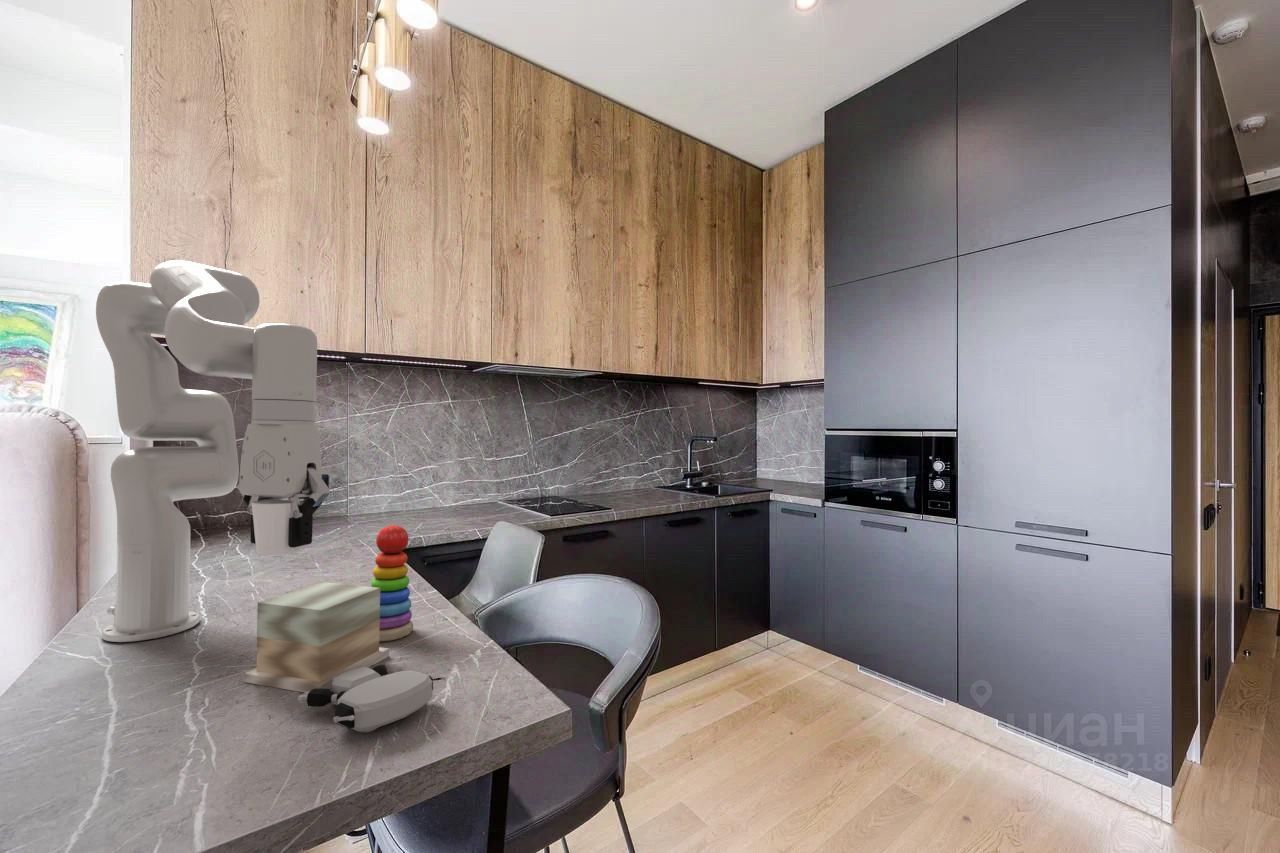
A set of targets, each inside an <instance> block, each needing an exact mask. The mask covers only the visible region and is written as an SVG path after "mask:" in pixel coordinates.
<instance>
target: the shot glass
mask: <svg viewBox="0 0 1280 853" xmlns="http://www.w3.org/2000/svg"><path fill="white" fill-rule="evenodd" d="M299 501H300V504H301V505H302V504H303V503H304V500H303V499H300V500H299ZM252 511H253V514H252V515H253V521H254V532H255V543H256V544H255V551H256V554H258V555H262V556H274V555H275V556H277V555H285V554H293V553H298V552H300V551H301V552H302V551H303V550H305V548H306V545H303V546H299V547H294V548H293V547H289V545H288V535H289V518H293V514H292V510H291V503H289V500H288V498H272V499H266V498H263V500H258V501H254V502H252Z"/></svg>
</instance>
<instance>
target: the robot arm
mask: <svg viewBox="0 0 1280 853" xmlns="http://www.w3.org/2000/svg"><path fill="white" fill-rule="evenodd" d="M149 276H150V277H149V283H143V282H133V281H115V282H111V283H107V284H106V285H104V286H103V287H102V288H101V289H100V290H99V292H98V294H97V298H96V303H95V318H96V324H97V329H98V331H99V334H100V337H101V339H102V342H103V343H104V345H105V348H106V350H107V352H108V354H109V356H110V359H111V362H112V366H113V372H114V384H115V395H116V396H115V397H116V408H117V416H118V422H119V427H120V430H121V431H122V433H123V434H124V435H125V436H126V437H127V438H129V439H133V440H140V441H153V442H154V441H156V442H157V441H158V442H159V441H160V442H161V441H165V442H169V441H170V442H171V441H173V442H174V441H177V442H178V441H182V442H183V441H188V442H189V441H193V442H195V443H196V444H197V446H179V445H178V446H146V447H138V448H137V447H136V448H132V449H129V450H127V451H124V452H122V453H120V454H119V455H118V456H116V458H115V459H114V461H112V464H111V467H110V482H111V485H112V490H113V496H114V501H115V509H116V530H117V532H116V544H117V545H116V576H115V578H116V583H115V584H116V585H115V604H113V606H110V607H109V608H107V611H106V612H107V614H108V615H109V616H110V615H111V616H113V623H112V624H110V625H107V626H106V627H105V628H104V629H103V630H102V632H101V638H102V639H103V640H104V641H107V642H110V643H112V642H113V643H130V642H140V641H146V640H154V639H158V638H159V639H160V638H163V637H164V638H165V637H167V636H170V635H175V634H178V633H181V632H184V631H187V630H189V629H191V628H193V627H195V626H197V625H198V623H200V618H201V617H200V616H201V614H200V613H198V612H195V611H192V610H191V611H190V579H191V578H190V577H191V576H190V575H191V574H190V569H191V568H190V567H191V566H190V565H191V524H190V522H189V519H188V518H187V517H186V515H184V513H183V512H182V511H180V510H179V509H178V507H176V505H175V504H174V502H176V501H183V500H194V499H195V500H197V499H207V498H217V497H221V496H226V495H228V494H230V493H232V491H234V489H235V488H236V487H237V490H238V492H239V493H240V495H241V496H242V497H243V500H244V503H245V504H246V506H247V513H248V514H249V515H250V536H249V537H250V539H249V541H250V544H255V545H256V543H255V532H254V521H253V511H252V502H254V501H258V500H263V499H272V498H288V500H289V503H291V510H292V514H293V518H289V535H288V545H289V547H293V548H294V547H299V546H303V545H305V546H307V545H310V544H312V542H313V526H314V525H313V524H314V523H313V518H314V517H313V516H316V514H317V512H318V509H319V508H320V506H322V503H323V502H324V501H325V500H326V499H327V497H328V496H329V495H330V493H331V490H330V488H329V487H328V485H327V484H326V482H325V481H324V480H323V478H322V466H323V465H322V450H321V441H320V435H319V434H320V433H319V428H318V425H317V424H316V421H317V420H316V415H317V414H316V413H317V412H316V411H317V377H318V376H317V373H318V372H317V370H318V368H317V367H318V338H317V335H316V333H315V332H314V331H313V330H312V329H310V328H307V327H306V326H301V325H296V324H290V323H289V324H288V323H279V322H277V323H274V322H273V323H262V324H260V325H258V326H256V327H253V326H245V325H246V323H248V322H250V321H251V320H252V319H253V318H254V317H255V315H256V313H258V310H259V307H260V294H259V290H258V288H257V285H255V282H254V281H252V280H251V279H250V278H249V277H248V276H246V275H244V274H242V273H239V272H237V271H236V272H235V271H231V270H226V269H224V268H223V269H222V268H217V267H213V266H209V265H205V264H202V263H197V262H192V261H188V260H169V261H165V262H162V263H160V264H158V265H157V266H156V267H154V269H153V270H152V271H151V273H150V275H149ZM152 335H159V336H165V341H166V345H167V347H168V349H169V351H170V352H169V351H168V350H167V349H166V348H165V347H164V346H163V345H162V344H161V343H160V342H159V341H157V340H156V338H154V337H153V336H152ZM171 353H172V354H171ZM172 355H173V356H174V357H175V358H174V357H173V356H172ZM175 359H177V360H178V361H179V362H180V363H181V364H182V365H183V366H184V367H185V368H186V369H188V370H190V371H192V372H193V373H196V374H199V375H202V376H208V377H222V378H234V379H235V378H236V379H246V380H247V379H248V380H251V414H250V416H251V417H250V418H251V419H250V423H248V424H247V427H246V429H245V434H244V438H243V442H242V446H241V447H242V448H241V457H240V466H239V458H238V457H239V456H238V448H237V441H236V440H237V439H236V429H235V420H234V414H233V409H232V407H231V405H230V403H229V401H228V399H227V398H226V397H224V395H223V394H220V393H219V392H216V391H211V390H205V389H203V390H201V389H189V388H183V386H181V384H180V378H179V368H178V364H177V361H176V360H175ZM300 499H303V500H304V503H303V504H302V505H301V504H300V501H299V500H300Z"/></svg>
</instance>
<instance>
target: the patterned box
mask: <svg viewBox="0 0 1280 853" xmlns="http://www.w3.org/2000/svg"><path fill="white" fill-rule="evenodd" d="M256 610H257V611H256V612H257V614H256V615H257V616H256V618H257V620H256V622H257V623H256V624H257V626H256V662H255V666H256V667H255V668H252V669H251V670H248V671H246V672H244V673H243V683H247V684H253V685H260V686H265V687H269V688H270V687H271V688H277V689H281V690H282V689H283V690H288V691H294V692H301V693H303V694H304V693H305V692H310V691H311V690H313V689H316V688H324V689H330V690H332V682H333V678H334V677H335V676H337V677H338V676H339V675H340V674H342V673H345V672H347V671H350V670H353V669H356V668H362V667H368V668H371V667H373V666H374V665H376V664H379V662H382V661H384V660H385V659H387V658H389V657H390V648H389V647H388V648H386V647H380V641H379V629H380V588H376V587H372V586H368V585H367V586H366V585H358V584H357V585H355V584H348V583H346V584H345V583H338V582H337V583H335V582H330V581H329V582H326V581H320V582H318V583H314V584H311V585H308V586H305V587H302V588H299V589H295V590H292V591H289V592H286V593H282V594H280V595H277V596H274V597H271V598H268V599H264V600H261V601H258V602H257V609H256ZM372 665H373V666H372Z"/></svg>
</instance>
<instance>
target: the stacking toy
mask: <svg viewBox="0 0 1280 853" xmlns="http://www.w3.org/2000/svg"><path fill="white" fill-rule="evenodd" d="M375 540H376V541H375V542H376V547H377V548H378V550H379V551H380V552H381V553H379V554H377V555H376V557H375V560H374V562H375V564H376V566H375V567H374V568H373V570H372V575H373V577H374V578H373V579H371V581H370V582H371V584H370V585H371V586H370V587H376V588H380V629H379V642H390V641H396V640H399V638H400V639H402V638H404V636H405V637H406V635H407V636H408V635H409V634H411V632H412V631H413V629H414V623H413V621H412V616H413V613H412V610H411V608H412V600H411V598H409V597H410V595H411V591H410V588H409V587H408V586H409V584H410V578H409V576H408V575H407V574H408V571H409V569H408V566H407V565H406V563H407V562H408V555H407V554H406V552H403V551H404V550H405V549H406V547H407V545H408V542H409V534H408V532H407V530H406V529H405V528H404V527H403V526H401V525H398V524H397V525H395V524H391V525H386V526H385V527H383V528H382V529H380V530H379V532H378V533H377V535H376V538H375Z"/></svg>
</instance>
